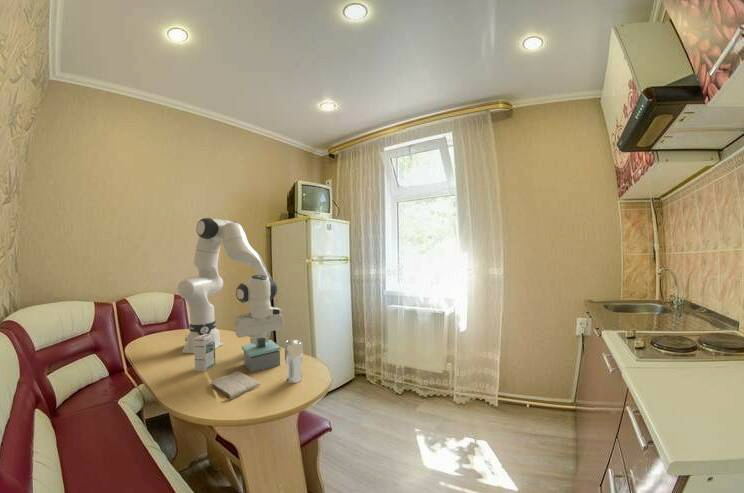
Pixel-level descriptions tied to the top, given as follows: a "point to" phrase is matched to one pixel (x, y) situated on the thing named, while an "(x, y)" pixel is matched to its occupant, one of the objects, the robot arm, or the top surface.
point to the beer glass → (294, 360)
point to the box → (262, 361)
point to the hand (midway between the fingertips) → (261, 342)
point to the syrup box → (204, 352)
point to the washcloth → (234, 384)
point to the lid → (260, 348)
